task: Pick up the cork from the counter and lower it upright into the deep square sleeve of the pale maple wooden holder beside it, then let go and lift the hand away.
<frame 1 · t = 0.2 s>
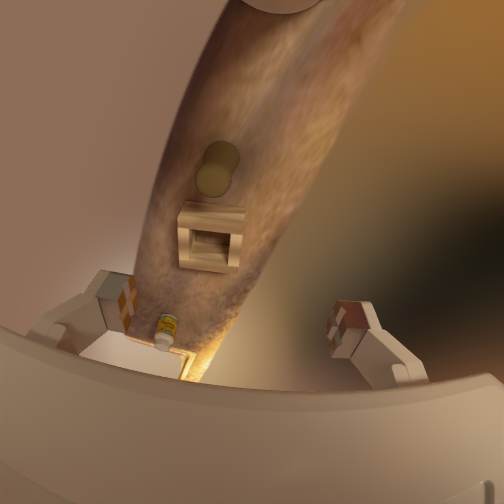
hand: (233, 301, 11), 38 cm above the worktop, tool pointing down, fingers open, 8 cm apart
shaker holder: (213, 229, 56), on the worktop
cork: (221, 157, 46), on the worktop
supplement bottle: (169, 318, 75), on the worktop
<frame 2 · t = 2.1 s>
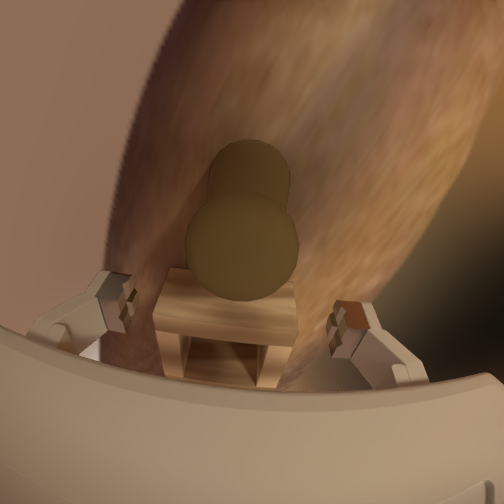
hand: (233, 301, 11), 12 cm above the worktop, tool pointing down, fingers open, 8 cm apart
shaker holder: (227, 316, 29), on the worktop
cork: (249, 177, 21), on the worktop
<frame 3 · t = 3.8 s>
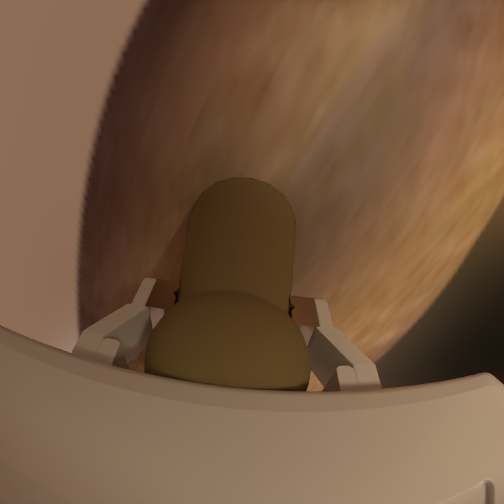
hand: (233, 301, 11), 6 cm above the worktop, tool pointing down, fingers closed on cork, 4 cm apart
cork: (242, 226, 16), on the worktop, touching gripper
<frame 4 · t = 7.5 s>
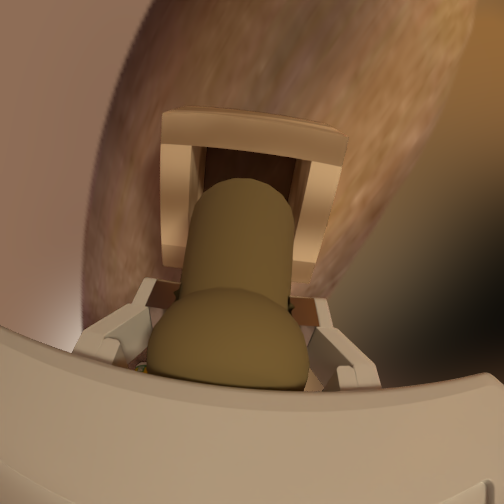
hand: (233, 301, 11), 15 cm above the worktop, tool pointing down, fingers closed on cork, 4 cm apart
shaker holder: (248, 177, 23), on the worktop
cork: (242, 226, 17), point 8 cm above the worktop, touching gripper
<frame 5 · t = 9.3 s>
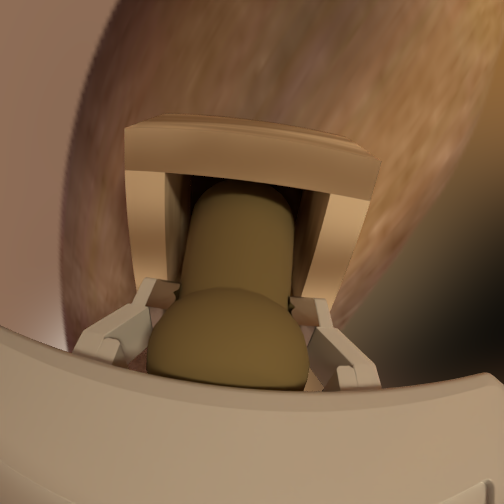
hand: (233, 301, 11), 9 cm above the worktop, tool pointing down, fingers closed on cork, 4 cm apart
shaker holder: (244, 203, 19), on the worktop
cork: (242, 226, 17), point 3 cm above the worktop, touching gripper
when the fingers open (7 cm above the worktop, at t = 11.1 s): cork drops 1 cm, resting in shaker holder.
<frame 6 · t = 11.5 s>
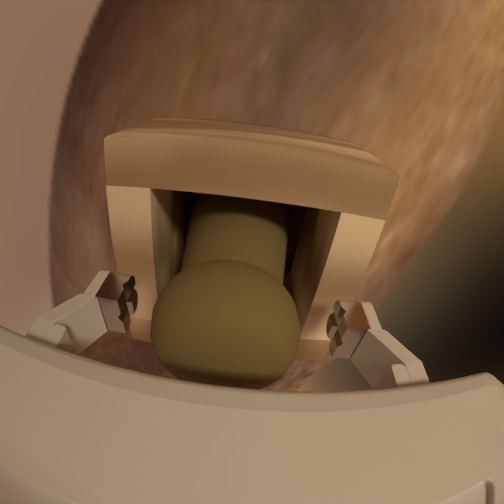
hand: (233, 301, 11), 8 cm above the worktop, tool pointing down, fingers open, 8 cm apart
shaker holder: (243, 216, 17), on the worktop
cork: (240, 214, 18), resting in shaker holder
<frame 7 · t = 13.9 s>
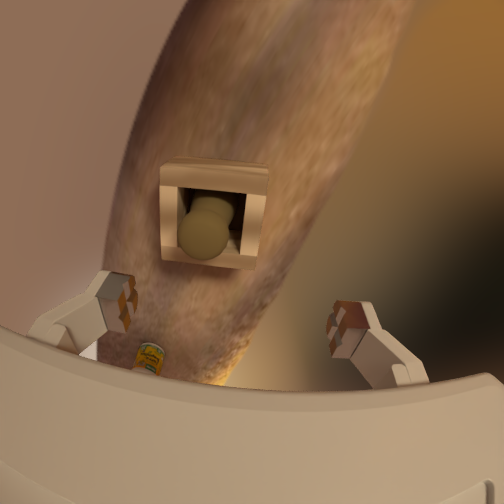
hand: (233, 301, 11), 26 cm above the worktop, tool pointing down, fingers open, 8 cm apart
shaker holder: (216, 202, 36), on the worktop
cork: (215, 201, 36), resting in shaker holder
supplement bottle: (152, 349, 52), on the worktop
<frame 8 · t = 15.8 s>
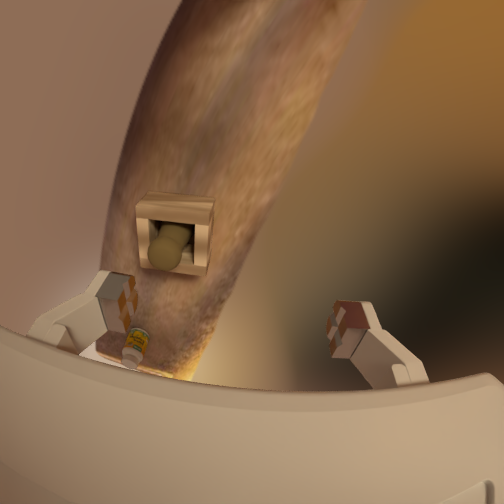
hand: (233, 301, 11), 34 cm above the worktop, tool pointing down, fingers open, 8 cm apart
shaker holder: (180, 224, 48), on the worktop
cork: (179, 223, 48), resting in shaker holder
supplement bottle: (140, 333, 65), on the worktop
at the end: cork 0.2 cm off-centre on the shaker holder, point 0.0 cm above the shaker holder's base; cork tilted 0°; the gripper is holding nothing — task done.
